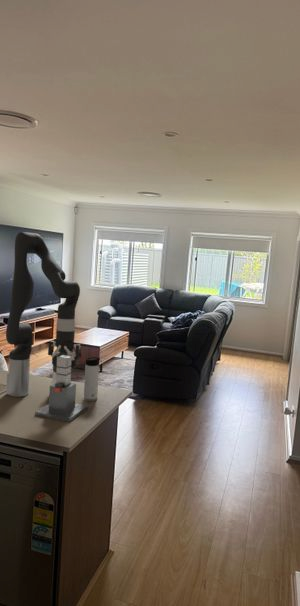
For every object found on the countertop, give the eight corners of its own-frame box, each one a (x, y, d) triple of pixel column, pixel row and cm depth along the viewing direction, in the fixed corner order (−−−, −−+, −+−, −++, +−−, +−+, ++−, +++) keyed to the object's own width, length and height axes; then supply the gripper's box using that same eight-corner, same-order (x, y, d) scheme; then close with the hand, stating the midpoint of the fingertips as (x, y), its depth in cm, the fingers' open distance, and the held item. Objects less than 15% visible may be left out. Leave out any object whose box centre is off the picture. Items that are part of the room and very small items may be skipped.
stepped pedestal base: (35, 415, 170) (36, 384, 169) (54, 403, 185) (56, 374, 184) (69, 422, 166) (71, 390, 164) (87, 409, 181) (88, 379, 179)
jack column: (54, 399, 173) (56, 357, 171) (60, 396, 178) (62, 355, 176) (64, 401, 172) (66, 358, 170) (70, 397, 176) (71, 356, 174)
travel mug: (95, 402, 190) (97, 359, 188) (81, 400, 191) (83, 358, 189) (99, 397, 196) (101, 356, 194) (86, 396, 197) (88, 355, 195)
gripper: (45, 328, 170) (44, 366, 172) (76, 332, 166) (75, 371, 168) (55, 325, 177) (53, 362, 179) (85, 329, 173) (83, 367, 175)
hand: (63, 367), depth 173 cm, fingers open, 8 cm apart
